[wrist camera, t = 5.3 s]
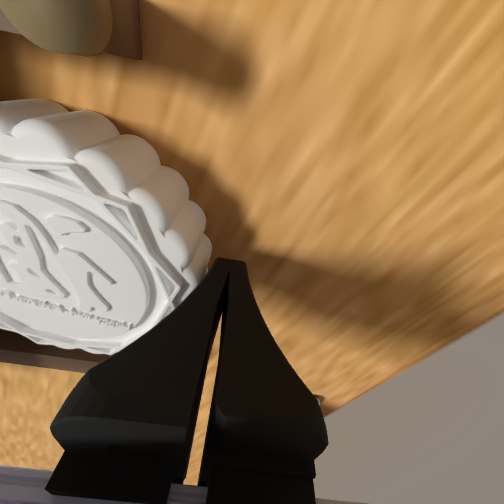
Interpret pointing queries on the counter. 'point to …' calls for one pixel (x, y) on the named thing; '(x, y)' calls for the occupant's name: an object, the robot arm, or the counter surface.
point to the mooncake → (90, 230)
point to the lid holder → (76, 43)
